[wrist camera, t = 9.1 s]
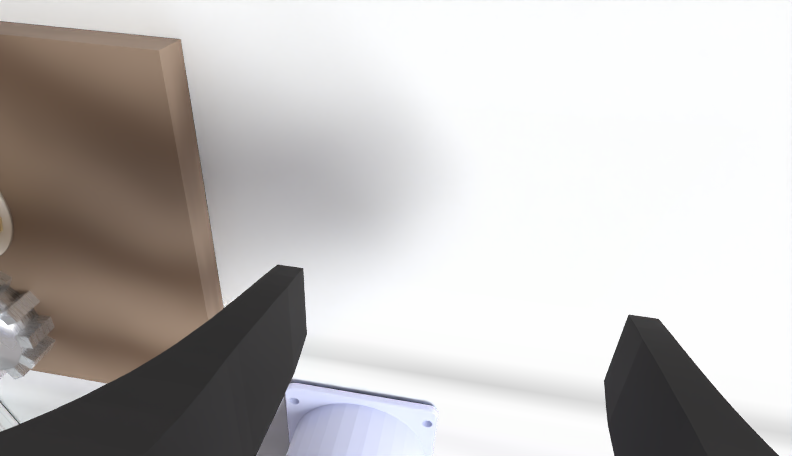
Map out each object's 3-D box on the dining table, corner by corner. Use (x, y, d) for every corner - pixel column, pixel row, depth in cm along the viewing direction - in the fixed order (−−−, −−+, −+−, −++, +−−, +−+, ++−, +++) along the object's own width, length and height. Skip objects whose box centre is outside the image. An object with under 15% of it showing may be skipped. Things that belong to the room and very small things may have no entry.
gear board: (235, 381, 30) (186, 473, 25) (-33, 336, 31) (-124, 414, 27) (180, 39, 20) (82, 88, 15) (-205, 1, 22) (-397, 34, 17)
